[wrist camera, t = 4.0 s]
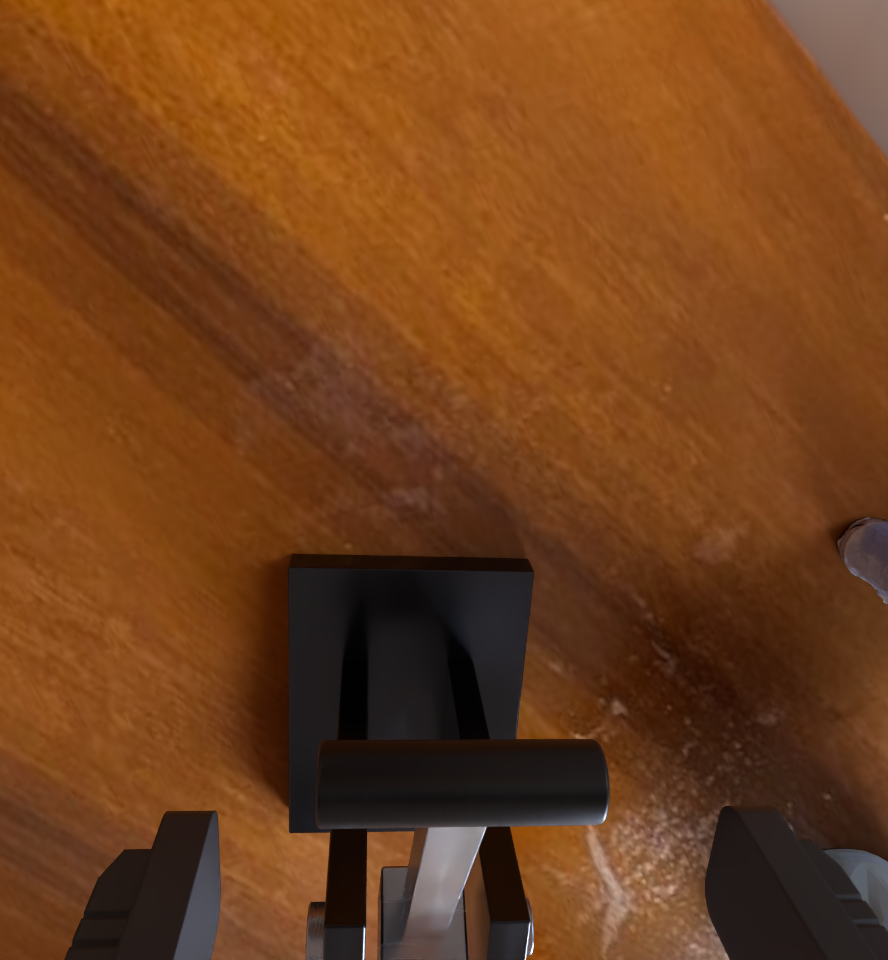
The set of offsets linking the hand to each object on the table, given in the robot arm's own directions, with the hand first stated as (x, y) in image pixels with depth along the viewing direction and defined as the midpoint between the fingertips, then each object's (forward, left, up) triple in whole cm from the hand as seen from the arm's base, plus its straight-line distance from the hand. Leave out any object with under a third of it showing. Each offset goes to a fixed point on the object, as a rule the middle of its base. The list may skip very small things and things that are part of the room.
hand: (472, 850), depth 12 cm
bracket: (+7, +5, -17) cm, 19 cm away
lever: (+3, +3, -5) cm, 7 cm away
